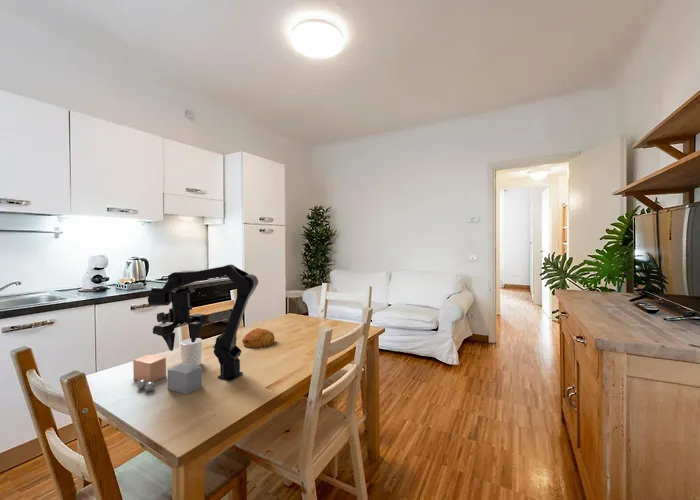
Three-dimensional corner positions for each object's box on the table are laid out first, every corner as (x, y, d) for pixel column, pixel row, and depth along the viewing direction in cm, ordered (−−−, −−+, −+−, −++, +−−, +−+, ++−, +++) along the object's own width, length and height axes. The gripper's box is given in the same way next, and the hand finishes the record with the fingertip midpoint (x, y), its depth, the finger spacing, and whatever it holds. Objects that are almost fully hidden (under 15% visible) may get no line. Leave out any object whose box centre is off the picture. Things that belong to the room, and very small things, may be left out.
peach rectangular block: (166, 375, 114) (165, 357, 114) (150, 382, 108) (150, 363, 108) (149, 372, 117) (149, 354, 117) (133, 378, 112) (133, 359, 111)
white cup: (193, 370, 119) (193, 345, 119) (176, 368, 121) (175, 343, 121) (206, 362, 127) (206, 338, 127) (190, 360, 129) (189, 337, 128)
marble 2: (157, 389, 103) (157, 381, 103) (148, 393, 101) (148, 385, 101) (151, 388, 105) (151, 379, 104) (142, 392, 102) (142, 383, 102)
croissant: (260, 341, 161) (259, 325, 161) (280, 343, 151) (278, 326, 152) (236, 348, 149) (235, 331, 149) (255, 350, 140) (254, 333, 140)
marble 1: (149, 387, 105) (149, 379, 105) (140, 391, 102) (140, 383, 102) (143, 386, 106) (143, 377, 106) (134, 390, 103) (134, 381, 103)
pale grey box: (201, 386, 106) (201, 366, 106) (187, 394, 101) (186, 373, 100) (183, 381, 109) (182, 362, 109) (167, 389, 104) (167, 369, 104)
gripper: (186, 299, 124) (188, 336, 125) (140, 309, 107) (143, 352, 107) (207, 300, 120) (208, 339, 121) (163, 311, 103) (165, 356, 103)
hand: (182, 346), depth 113 cm, fingers open, 9 cm apart
